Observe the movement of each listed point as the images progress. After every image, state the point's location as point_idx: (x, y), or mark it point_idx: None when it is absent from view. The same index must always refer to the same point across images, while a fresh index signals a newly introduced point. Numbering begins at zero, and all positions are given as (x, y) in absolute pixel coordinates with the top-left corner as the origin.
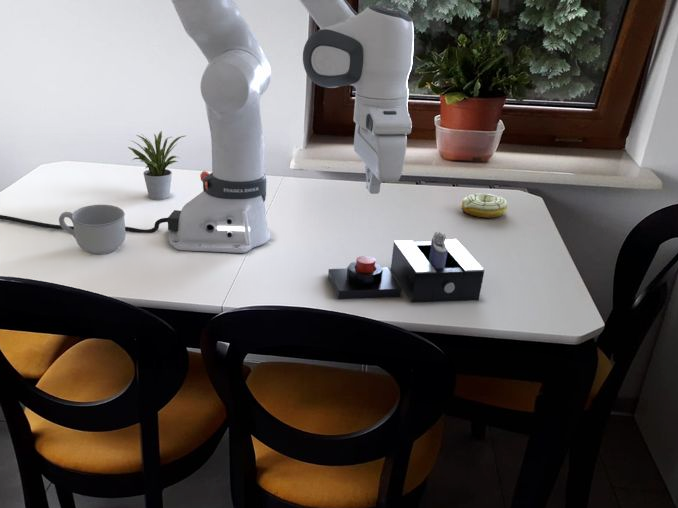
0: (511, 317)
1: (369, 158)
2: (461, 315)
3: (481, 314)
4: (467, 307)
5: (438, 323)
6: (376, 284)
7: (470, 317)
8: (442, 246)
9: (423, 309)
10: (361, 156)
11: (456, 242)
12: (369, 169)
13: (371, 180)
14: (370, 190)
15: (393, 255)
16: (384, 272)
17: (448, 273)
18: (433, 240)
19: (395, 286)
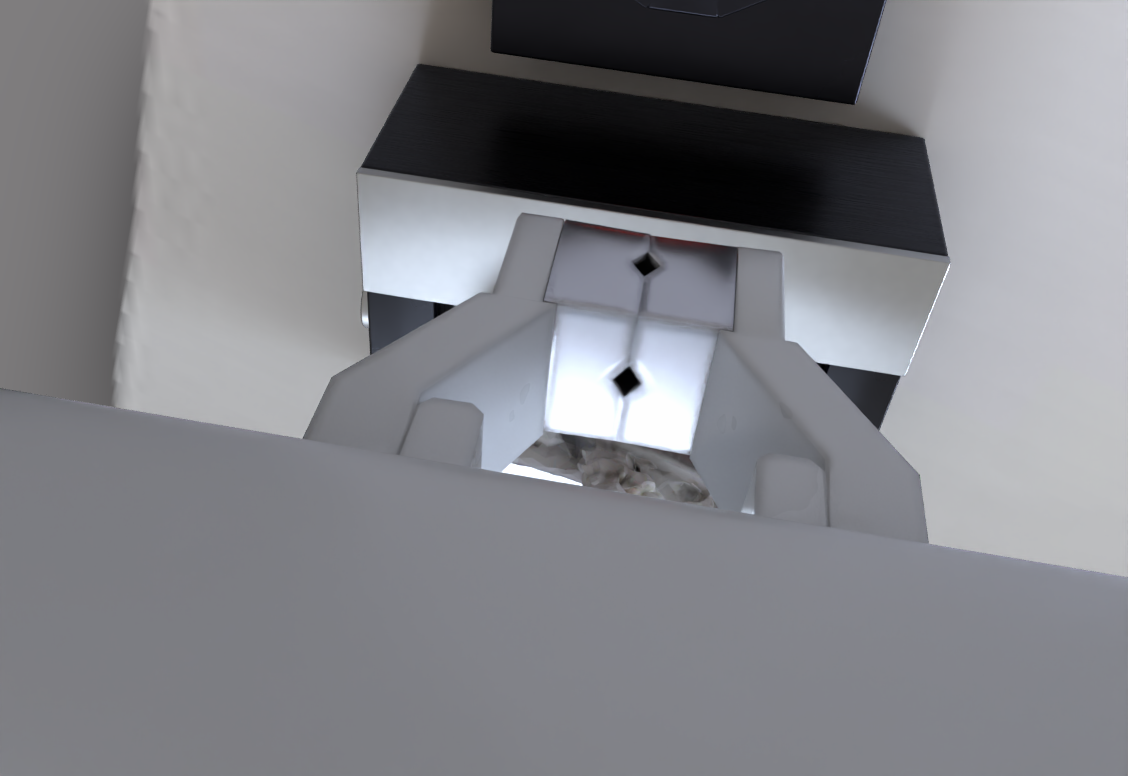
0: (249, 417)
1: (166, 631)
2: (263, 243)
3: (275, 327)
4: (350, 307)
5: (166, 95)
6: None
7: (243, 270)
8: (551, 455)
9: (333, 91)
10: (1048, 625)
11: None
12: (747, 493)
13: (416, 332)
14: (512, 234)
15: (907, 197)
16: (770, 46)
17: (370, 344)
18: (644, 452)
19: (528, 27)
